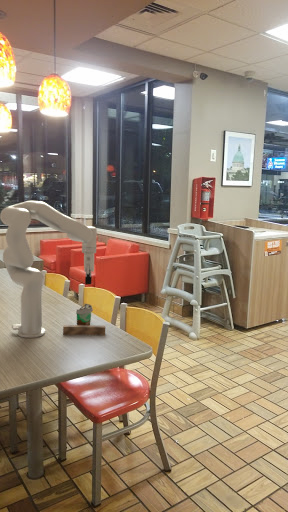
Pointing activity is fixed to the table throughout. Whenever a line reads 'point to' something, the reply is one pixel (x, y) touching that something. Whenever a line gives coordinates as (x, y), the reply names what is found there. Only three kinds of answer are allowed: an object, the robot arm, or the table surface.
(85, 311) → the food container
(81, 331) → the walnut board
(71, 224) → the robot arm
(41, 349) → the table surface
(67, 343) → the table surface
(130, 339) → the table surface
